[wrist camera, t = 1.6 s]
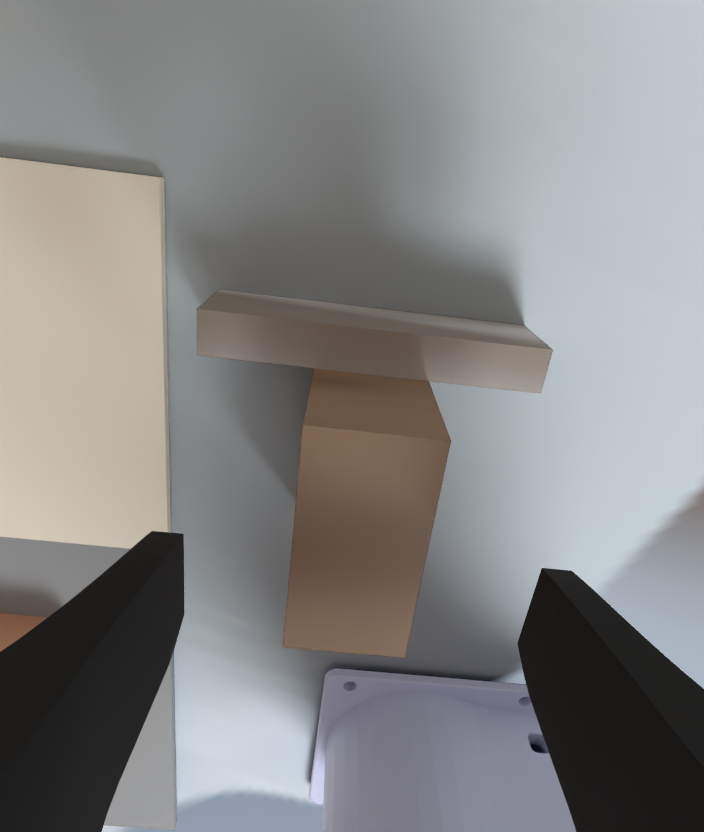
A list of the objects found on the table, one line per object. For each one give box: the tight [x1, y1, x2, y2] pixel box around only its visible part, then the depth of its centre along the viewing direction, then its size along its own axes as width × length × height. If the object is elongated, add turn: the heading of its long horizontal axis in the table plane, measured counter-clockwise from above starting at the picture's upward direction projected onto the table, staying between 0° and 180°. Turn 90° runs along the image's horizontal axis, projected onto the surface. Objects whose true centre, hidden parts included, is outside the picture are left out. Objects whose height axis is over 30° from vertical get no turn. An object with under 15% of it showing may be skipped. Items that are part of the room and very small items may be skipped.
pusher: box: [197, 290, 553, 658], centre depth 15 cm, size 7×9×6 cm
